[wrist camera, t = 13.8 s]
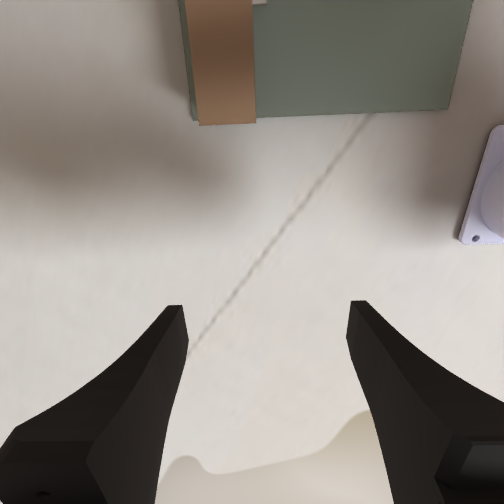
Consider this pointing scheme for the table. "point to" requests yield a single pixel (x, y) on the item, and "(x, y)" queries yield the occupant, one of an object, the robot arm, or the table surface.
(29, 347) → the table surface
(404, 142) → the table surface
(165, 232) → the table surface
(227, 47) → the two-tone block stack
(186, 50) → the mat
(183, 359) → the robot arm
